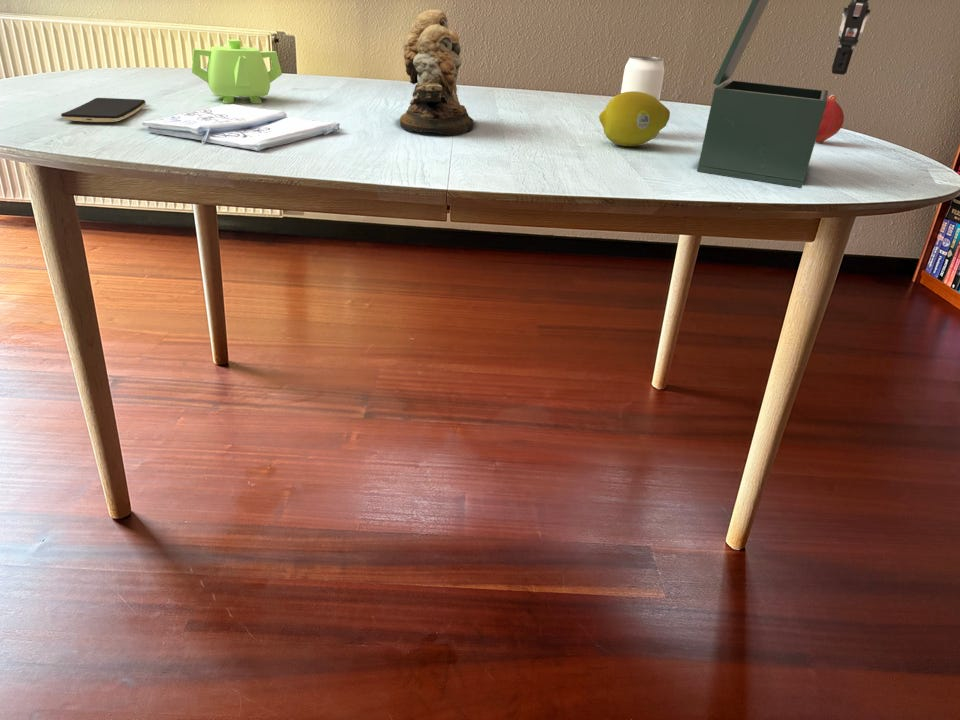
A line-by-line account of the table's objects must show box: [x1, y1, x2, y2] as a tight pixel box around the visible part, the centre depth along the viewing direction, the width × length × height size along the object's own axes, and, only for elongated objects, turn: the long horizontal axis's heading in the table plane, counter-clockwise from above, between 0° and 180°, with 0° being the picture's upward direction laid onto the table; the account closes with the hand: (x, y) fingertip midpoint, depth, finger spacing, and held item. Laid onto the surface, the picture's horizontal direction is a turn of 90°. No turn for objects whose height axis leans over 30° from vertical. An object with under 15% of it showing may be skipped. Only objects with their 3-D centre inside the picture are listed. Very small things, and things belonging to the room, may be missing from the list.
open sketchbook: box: [141, 103, 341, 152], centre depth 97 cm, size 19×20×2 cm
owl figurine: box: [399, 8, 474, 136], centre depth 107 cm, size 18×12×17 cm, turn 178°
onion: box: [815, 94, 845, 144], centre depth 118 cm, size 6×6×8 cm
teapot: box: [191, 38, 283, 104], centre depth 119 cm, size 12×12×10 cm
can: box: [620, 55, 665, 102], centre depth 114 cm, size 6×6×12 cm
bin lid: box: [712, 0, 770, 86], centre depth 91 cm, size 14×14×5 cm
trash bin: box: [696, 79, 829, 188], centre depth 95 cm, size 14×14×11 cm
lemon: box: [598, 91, 671, 147], centre depth 105 cm, size 11×8×8 cm
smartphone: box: [60, 97, 147, 123], centre depth 102 cm, size 7×1×15 cm
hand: (838, 72), depth 115 cm, fingers open, 8 cm apart
